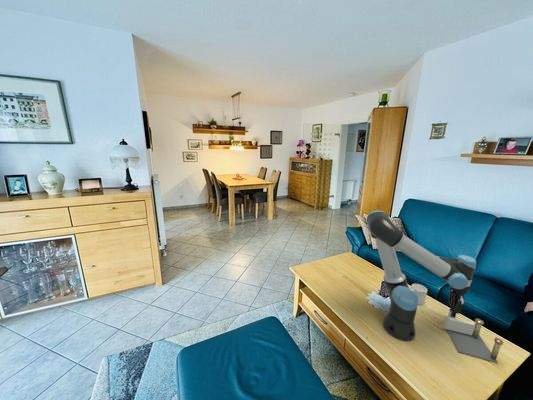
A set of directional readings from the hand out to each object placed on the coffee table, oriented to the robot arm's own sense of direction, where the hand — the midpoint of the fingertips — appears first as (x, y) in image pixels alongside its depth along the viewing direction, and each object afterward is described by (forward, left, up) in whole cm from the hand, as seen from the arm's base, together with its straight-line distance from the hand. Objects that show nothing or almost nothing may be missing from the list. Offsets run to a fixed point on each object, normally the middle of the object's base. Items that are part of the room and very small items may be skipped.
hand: (450, 319), depth 124 cm
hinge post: (+9, -6, -3) cm, 11 cm away
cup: (-14, +15, -4) cm, 21 cm away
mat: (+5, -11, -3) cm, 13 cm away
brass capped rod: (+11, -18, -3) cm, 21 cm away
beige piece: (+1, -6, -2) cm, 6 cm away
